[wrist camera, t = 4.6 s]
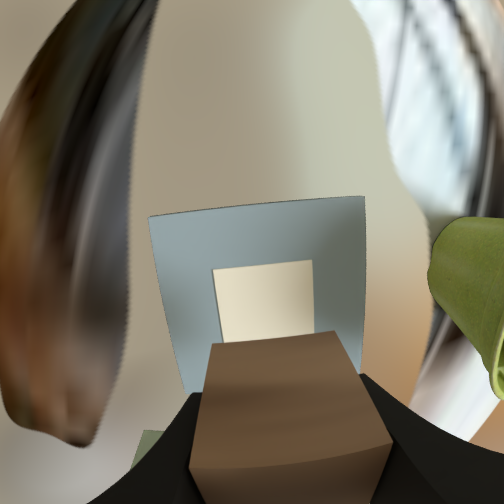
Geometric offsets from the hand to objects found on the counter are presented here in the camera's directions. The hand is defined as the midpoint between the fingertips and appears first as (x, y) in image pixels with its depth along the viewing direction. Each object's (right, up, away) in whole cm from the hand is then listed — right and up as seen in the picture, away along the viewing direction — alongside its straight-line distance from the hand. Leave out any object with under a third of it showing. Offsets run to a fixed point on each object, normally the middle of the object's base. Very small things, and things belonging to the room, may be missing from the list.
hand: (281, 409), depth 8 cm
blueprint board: (0, +2, +8) cm, 8 cm away
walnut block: (0, 0, +2) cm, 2 cm away
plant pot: (+13, +4, +8) cm, 16 cm away
